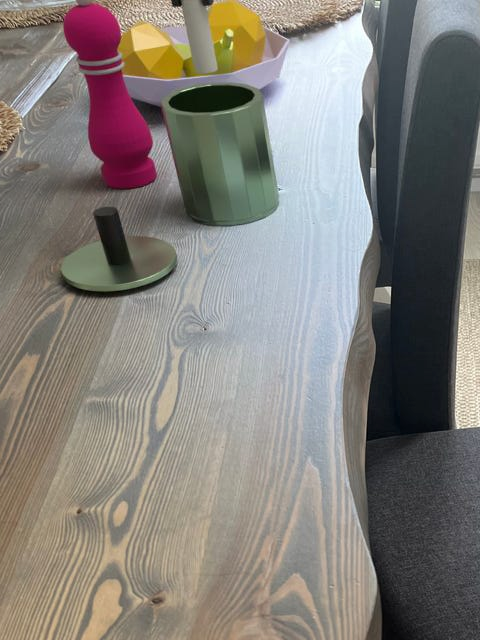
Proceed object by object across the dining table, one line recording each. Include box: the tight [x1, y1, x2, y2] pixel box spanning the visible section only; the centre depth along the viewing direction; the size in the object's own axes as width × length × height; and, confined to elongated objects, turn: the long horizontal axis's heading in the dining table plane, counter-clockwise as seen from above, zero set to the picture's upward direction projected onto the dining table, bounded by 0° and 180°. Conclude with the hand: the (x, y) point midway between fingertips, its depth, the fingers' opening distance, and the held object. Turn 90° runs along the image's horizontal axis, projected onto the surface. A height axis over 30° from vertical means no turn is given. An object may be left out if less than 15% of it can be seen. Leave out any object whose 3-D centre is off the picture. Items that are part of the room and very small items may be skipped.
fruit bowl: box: [117, 0, 291, 108], centre depth 139 cm, size 28×27×11 cm
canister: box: [160, 82, 280, 227], centre depth 112 cm, size 11×11×12 cm
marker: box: [180, 0, 218, 74], centre depth 102 cm, size 2×2×11 cm
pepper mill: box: [62, 0, 158, 190], centre depth 115 cm, size 7×7×20 cm
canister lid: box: [60, 206, 178, 292], centre depth 102 cm, size 12×12×6 cm
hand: (193, 3), depth 101 cm, fingers closed on marker, 2 cm apart
